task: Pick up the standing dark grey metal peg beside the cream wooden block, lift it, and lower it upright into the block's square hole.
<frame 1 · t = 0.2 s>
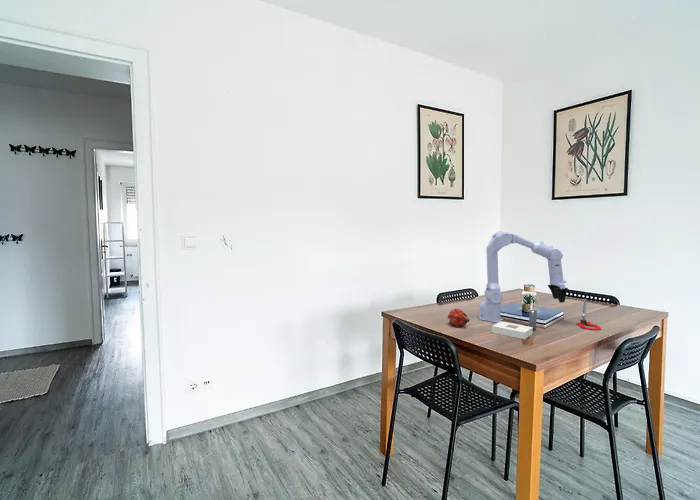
hand: (559, 300, 183), 11 cm above the table, tool pointing down, fingers open, 7 cm apart
dragon fruit: (458, 325, 178), on the table
peg: (532, 330, 170), on the table
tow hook: (589, 328, 174), on the table
hole block: (511, 333, 166), on the table
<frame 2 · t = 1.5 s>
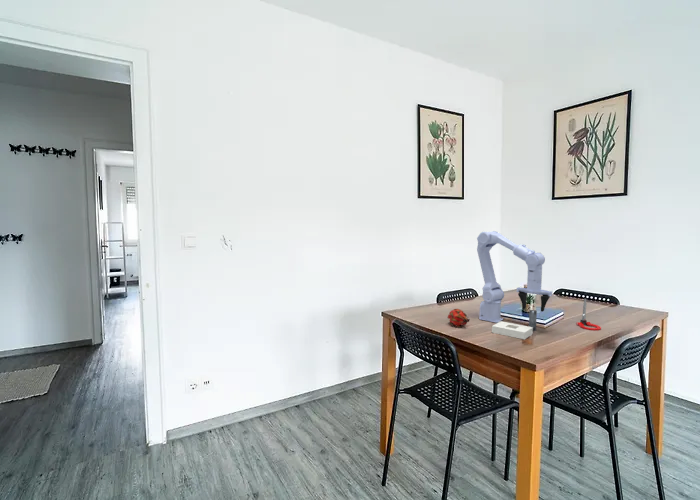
hand: (533, 309, 169), 9 cm above the table, tool pointing down, fingers open, 7 cm apart
nothing on the table moved.
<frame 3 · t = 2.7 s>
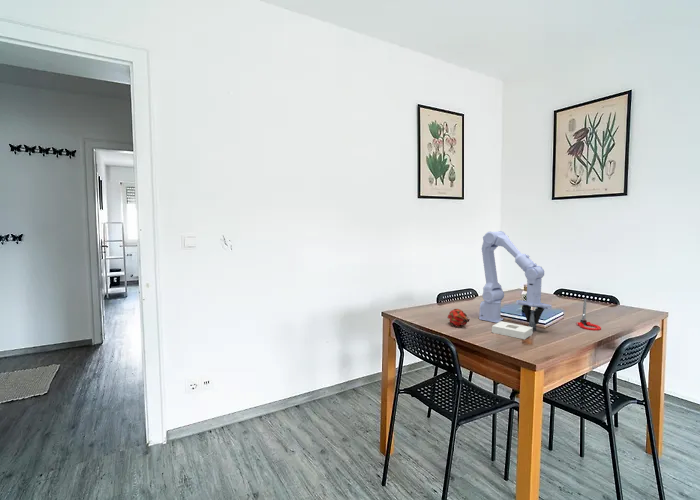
hand: (532, 322, 170), 3 cm above the table, tool pointing down, fingers closed on peg, 3 cm apart
peg: (532, 330, 170), on the table, touching gripper
everything else where it was.
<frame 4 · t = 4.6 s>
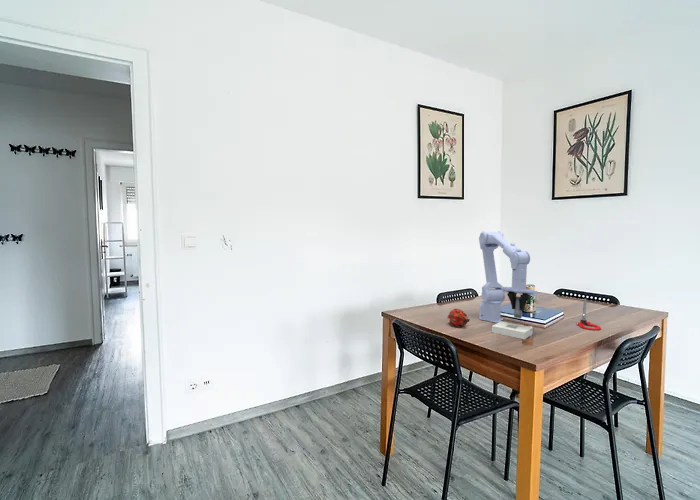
hand: (517, 309, 166), 10 cm above the table, tool pointing down, fingers closed on peg, 3 cm apart
peg: (517, 317, 166), point 7 cm above the table, touching gripper
everything else where it was.
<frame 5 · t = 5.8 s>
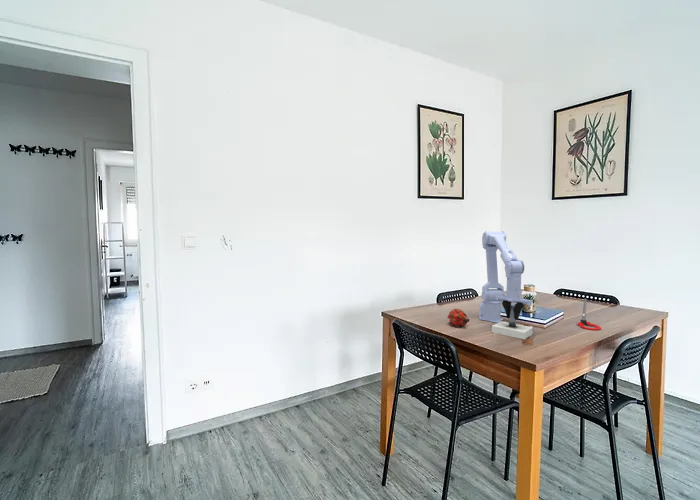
hand: (512, 318, 165), 7 cm above the table, tool pointing down, fingers closed on peg, 3 cm apart
peg: (512, 326, 166), point 3 cm above the table, touching gripper
everything else where it was.
when the fingers open (4 cm above the table, at t = 6.6 s): peg stays where it is, resting in hole block.
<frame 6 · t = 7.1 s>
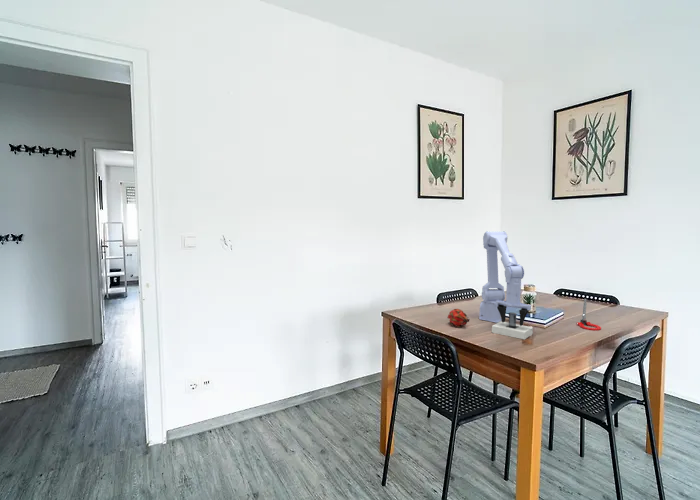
hand: (512, 323, 165), 4 cm above the table, tool pointing down, fingers open, 7 cm apart
peg: (512, 333, 166), resting in hole block
everything else where it was.
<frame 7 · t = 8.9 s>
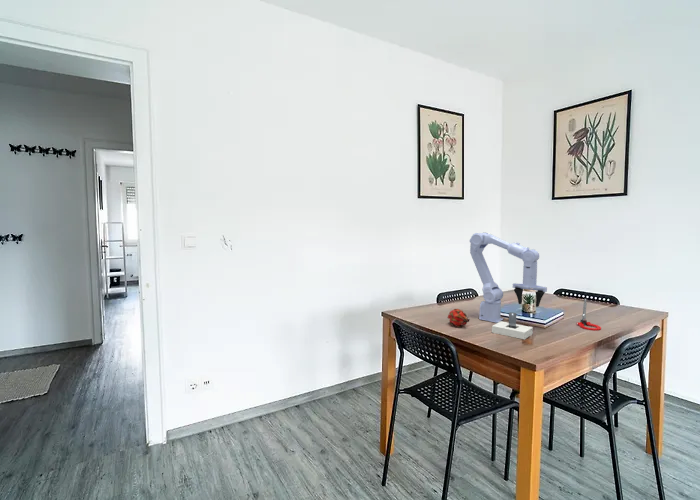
hand: (528, 305, 174), 10 cm above the table, tool pointing down, fingers open, 7 cm apart
nothing on the table moved.
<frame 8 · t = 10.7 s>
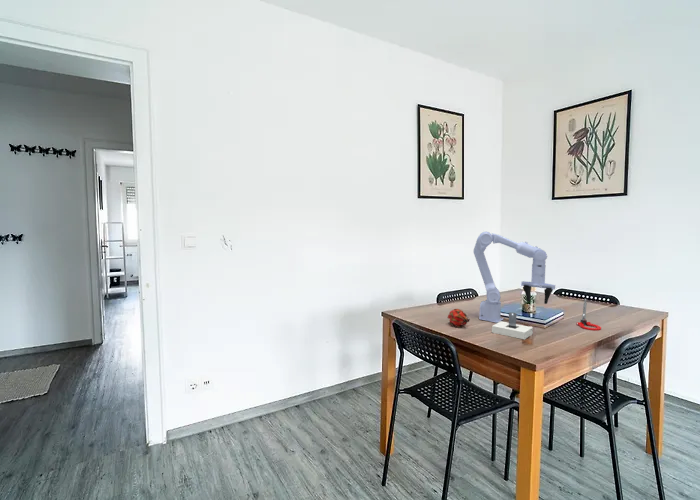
hand: (537, 302, 179), 10 cm above the table, tool pointing down, fingers open, 7 cm apart
nothing on the table moved.
at the end: peg 0.1 cm off-centre on the hole block, point 0.0 cm above the hole block's base; peg tilted 0°; the gripper is holding nothing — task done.
